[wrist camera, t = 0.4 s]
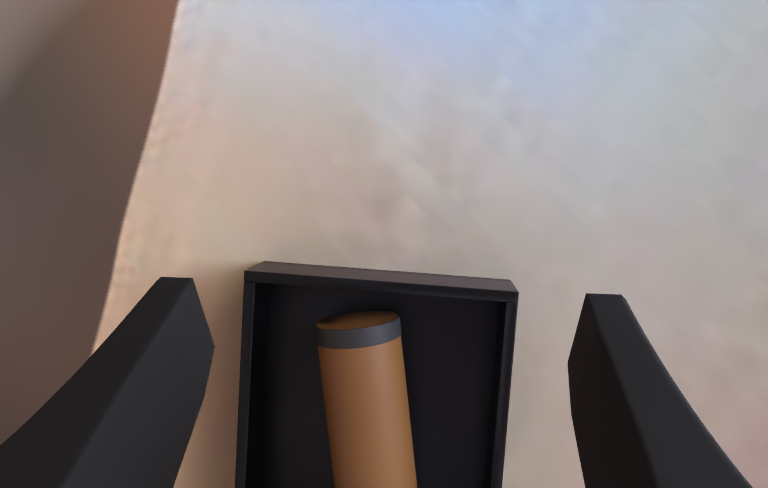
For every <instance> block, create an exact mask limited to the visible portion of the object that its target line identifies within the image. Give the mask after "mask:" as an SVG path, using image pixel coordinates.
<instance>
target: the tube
mask: <svg viewBox="0 0 768 488" xmlns="http://www.w3.org/2000/svg"><path fill="white" fill-rule="evenodd" d="M314 327H315V336H316V343H317V345H318V353H319V361H320V369H321V378H322V386H323V394H324V403H325V411H326V419H327V428H328V436H329V444H330V452H331V461H332V469H333V477H334V486H335V488H417V479H416V470H415V461H414V451H413V442H412V433H411V424H410V415H409V405H408V396H407V387H406V378H405V369H404V359H403V350H402V341H401V323H400V316H399V314H397V313H395V312H390V311H362V312H353V313H347V314H341V315H336V316H332V317H329V318H326V319H323V320H321V321H319V322H317V323H316V324H315V326H314Z"/></svg>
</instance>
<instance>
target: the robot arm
mask: <svg viewBox="0 0 768 488" xmlns="http://www.w3.org/2000/svg"><path fill="white" fill-rule="evenodd" d="M214 347H215V346H214V343H213V340H212V337H211V334H210V331H209V327H208V324H207V321H206V318H205V315H204V312H203V309H202V306H201V303H200V299H199V296H198V293H197V290H196V287H195V284H194V281H193V278H176V277H160V278H159V279H158V280H157V281H156V282H155V283H154V285H153V286H152V287H151V288H150V289H149V290H148V292H147V293H146V294H145V295H144V296H143V297H142V299H141V300H140V301H139V302H138V303H137V305H136V306H135V307H134V308H133V309H132V310H131V312H130V313H129V314H128V315H127V316H126V317H125V319H124V320H123V321H122V322H121V323H120V324H119V325H118V327H117V328H116V329H115V330H114V331H113V332H112V333H111V335H110V336H109V337H108V338H107V339H106V340H105V341H104V342H103V344H102V345H101V346H100V347H99V348H98V349H97V350H96V351H95V352H94V353H93V355H92V356H91V357H90V358H89V359H88V360H87V361H86V362H85V363H84V365H83V366H82V367H81V368H80V369H79V370H78V371H77V372H76V373H75V374H74V375H73V376H72V377H71V378H70V379H69V380H68V381H67V382H66V383H65V384H64V385H63V386H62V387H61V388H60V389H59V390H58V391H57V392H56V393H55V394H54V395H53V396H52V397H51V399H49V400H48V401H47V402H46V403H45V404H44V405H43V407H41V408H40V409H39V410H38V412H36V413H35V414H34V415H33V416H32V417H31V418H30V419H29V420H28V421H27V422H26V423H25V424H24V425H22V426H21V427H20V428H19V429H18V430H17V431H16V432H15V433H14V434H13V435H12V436H10V437H9V438H8V439H7V440H6V441H5V442H4V443H3V444H1V445H0V488H173V486H174V483H175V480H176V477H177V474H178V471H179V468H180V465H181V463H182V460H183V457H184V454H185V451H186V448H187V445H188V443H189V440H190V437H191V434H192V431H193V428H194V425H195V422H196V419H197V416H198V413H199V410H200V407H201V404H202V401H203V398H204V395H205V390H206V386H207V381H208V377H209V372H210V367H211V362H212V357H213V352H214ZM568 375H569V390H570V402H571V414H572V420H573V426H574V431H575V436H576V441H577V447H578V452H579V457H580V462H581V467H582V472H583V478H584V483H585V488H753V487H752V486H751V485H750V484H749V483H748V482H747V480H746V479H745V478H744V477H743V475H742V474H741V473H740V472H739V470H738V469H737V468H736V467H735V466H734V464H733V463H732V462H731V460H730V459H729V458H728V457H727V455H726V454H725V453H724V451H723V450H722V449H721V447H720V446H719V445H718V443H717V442H716V441H715V439H714V438H713V437H712V435H711V434H710V433H709V431H708V430H707V429H706V427H705V426H704V425H703V423H702V422H701V420H700V419H699V417H698V416H697V415H696V413H695V412H694V410H693V409H692V407H691V406H690V404H689V403H688V402H687V400H686V399H685V397H684V396H683V394H682V393H681V391H680V390H679V388H678V387H677V385H676V384H675V382H674V381H673V379H672V378H671V376H670V374H669V373H668V371H667V370H666V368H665V367H664V365H663V363H662V362H661V360H660V358H659V357H658V355H657V354H656V352H655V350H654V349H653V347H652V345H651V344H650V342H649V340H648V339H647V337H646V335H645V333H644V332H643V330H642V328H641V326H640V325H639V323H638V321H637V319H636V317H635V316H634V314H633V312H632V310H631V308H630V306H629V305H628V303H627V301H626V299H625V298H624V297H623V296H622V295H613V294H588V293H586V296H585V299H584V303H583V307H582V311H581V315H580V318H579V322H578V326H577V330H576V333H575V337H574V341H573V345H572V348H571V352H570V356H569V360H568Z"/></svg>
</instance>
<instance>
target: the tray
mask: <svg viewBox="0 0 768 488" xmlns="http://www.w3.org/2000/svg"><path fill="white" fill-rule="evenodd" d="M518 295H519V292H518V291H517V289H516V288H515V286H514V285H513V283H512V282H511V280H505V279H491V278H478V277H465V276H452V275H439V274H426V273H413V272H400V271H387V270H373V269H360V268H347V267H334V266H321V265H308V264H295V263H282V262H268V261H264V262H261V263H259V264H257V265H255V266H253V267H251V268H249V269H247V270H245V271H244V292H243V315H242V337H241V360H240V383H239V405H238V428H237V450H236V473H235V488H335V486H334V477H333V469H332V461H331V452H330V444H329V436H328V428H327V419H326V411H325V403H324V394H323V386H322V378H321V369H320V361H319V353H318V345H317V343H316V336H315V327H314V326H315V324H316V323H317V322H319V321H321V320H323V319H326V318H329V317H332V316H336V315H341V314H347V313H353V312H362V311H390V312H395V313H397V314H399V316H400V323H401V341H402V350H403V359H404V369H405V378H406V387H407V396H408V405H409V415H410V424H411V433H412V442H413V451H414V461H415V470H416V479H417V488H502V478H503V467H504V455H505V444H506V432H507V421H508V409H509V398H510V387H511V375H512V364H513V352H514V341H515V329H516V318H517V306H518V304H517V303H518Z"/></svg>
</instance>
